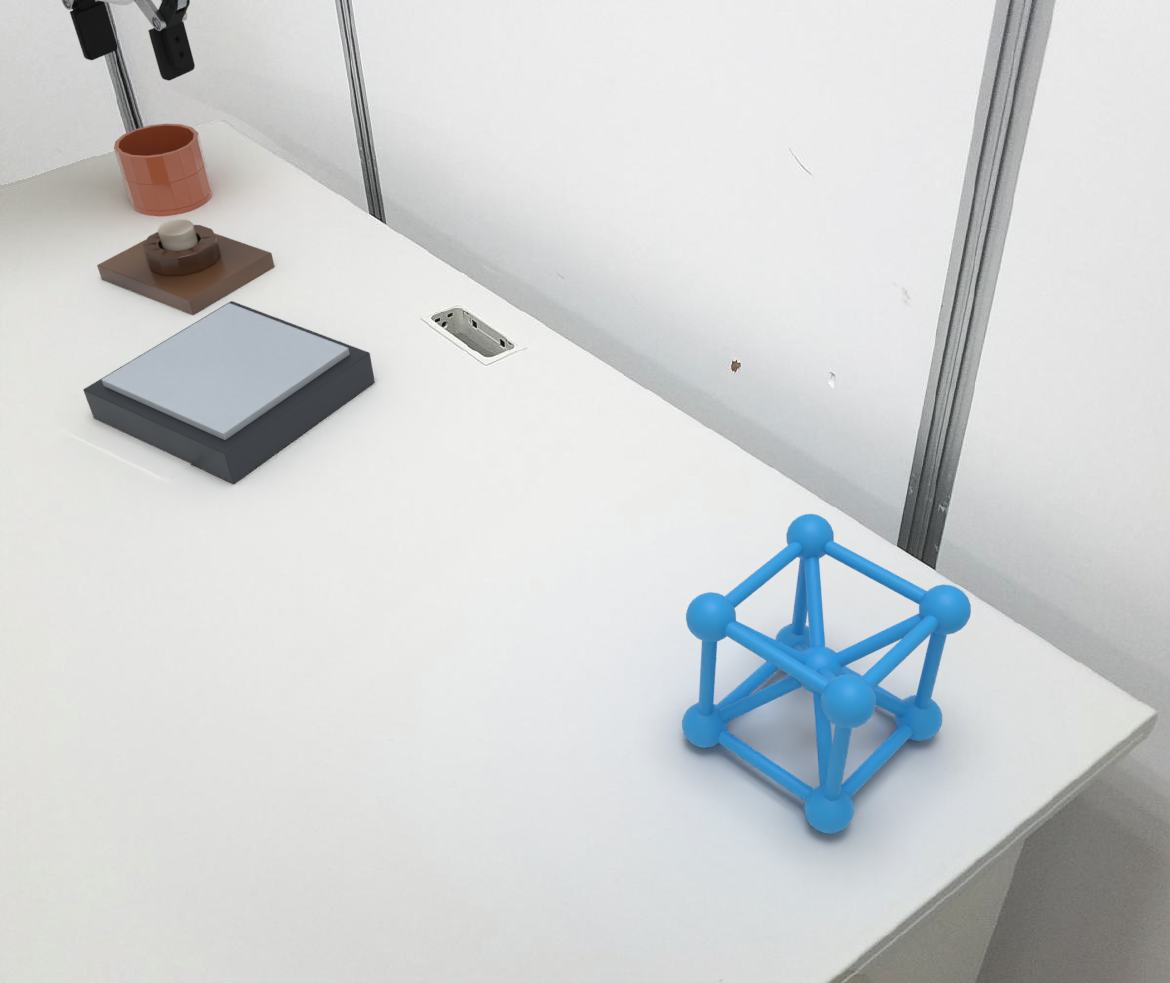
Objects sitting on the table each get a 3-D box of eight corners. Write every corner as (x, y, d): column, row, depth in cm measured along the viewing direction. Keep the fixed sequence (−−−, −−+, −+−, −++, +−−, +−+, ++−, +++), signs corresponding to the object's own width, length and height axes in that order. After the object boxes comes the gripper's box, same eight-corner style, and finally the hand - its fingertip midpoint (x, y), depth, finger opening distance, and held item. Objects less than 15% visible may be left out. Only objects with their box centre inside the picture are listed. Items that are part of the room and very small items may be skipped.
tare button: (155, 247, 98) (150, 229, 97) (181, 233, 99) (176, 216, 98) (179, 256, 96) (174, 238, 95) (205, 241, 98) (200, 224, 97)
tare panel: (101, 280, 99) (90, 246, 97) (184, 236, 105) (175, 203, 103) (193, 316, 95) (183, 282, 93) (275, 268, 100) (267, 234, 98)
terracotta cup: (115, 205, 109) (96, 146, 106) (175, 175, 114) (160, 117, 110) (169, 224, 106) (152, 163, 103) (229, 192, 111) (214, 133, 107)
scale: (87, 416, 85) (73, 379, 83) (233, 327, 93) (223, 291, 91) (233, 484, 79) (222, 446, 77) (375, 382, 87) (368, 345, 85)
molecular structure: (790, 637, 67) (807, 497, 60) (947, 731, 62) (985, 590, 55) (671, 740, 62) (675, 600, 55) (832, 852, 57) (858, 712, 50)
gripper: (-41, -168, 92) (38, 62, 104) (108, -146, 84) (175, 99, 96) (40, -189, 96) (107, 34, 108) (188, -170, 89) (243, 67, 100)
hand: (139, 64), depth 102 cm, fingers open, 9 cm apart
